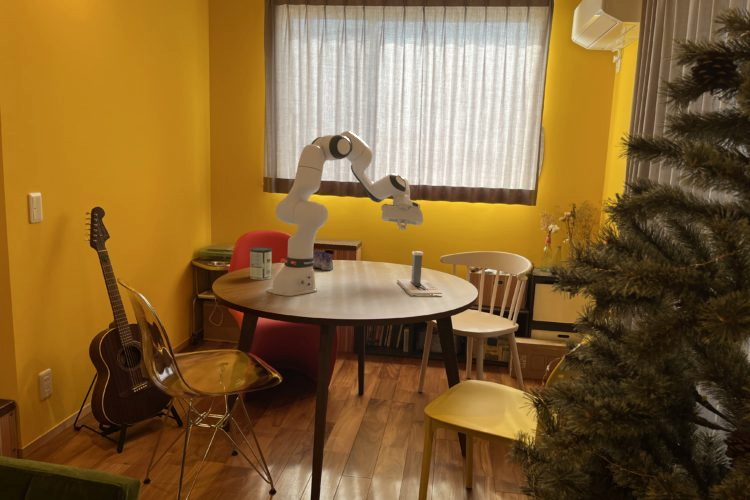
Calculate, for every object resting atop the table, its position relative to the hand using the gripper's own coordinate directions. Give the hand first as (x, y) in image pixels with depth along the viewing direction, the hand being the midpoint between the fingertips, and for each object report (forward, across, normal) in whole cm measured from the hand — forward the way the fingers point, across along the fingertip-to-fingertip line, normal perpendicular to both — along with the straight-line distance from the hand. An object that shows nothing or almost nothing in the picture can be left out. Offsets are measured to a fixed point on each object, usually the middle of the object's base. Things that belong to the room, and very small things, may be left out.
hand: (402, 229), depth 268 cm
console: (+29, +8, +6) cm, 30 cm away
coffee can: (+20, -63, +27) cm, 72 cm away
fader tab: (+25, +8, +10) cm, 28 cm away
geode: (-1, -32, +45) cm, 55 cm away
